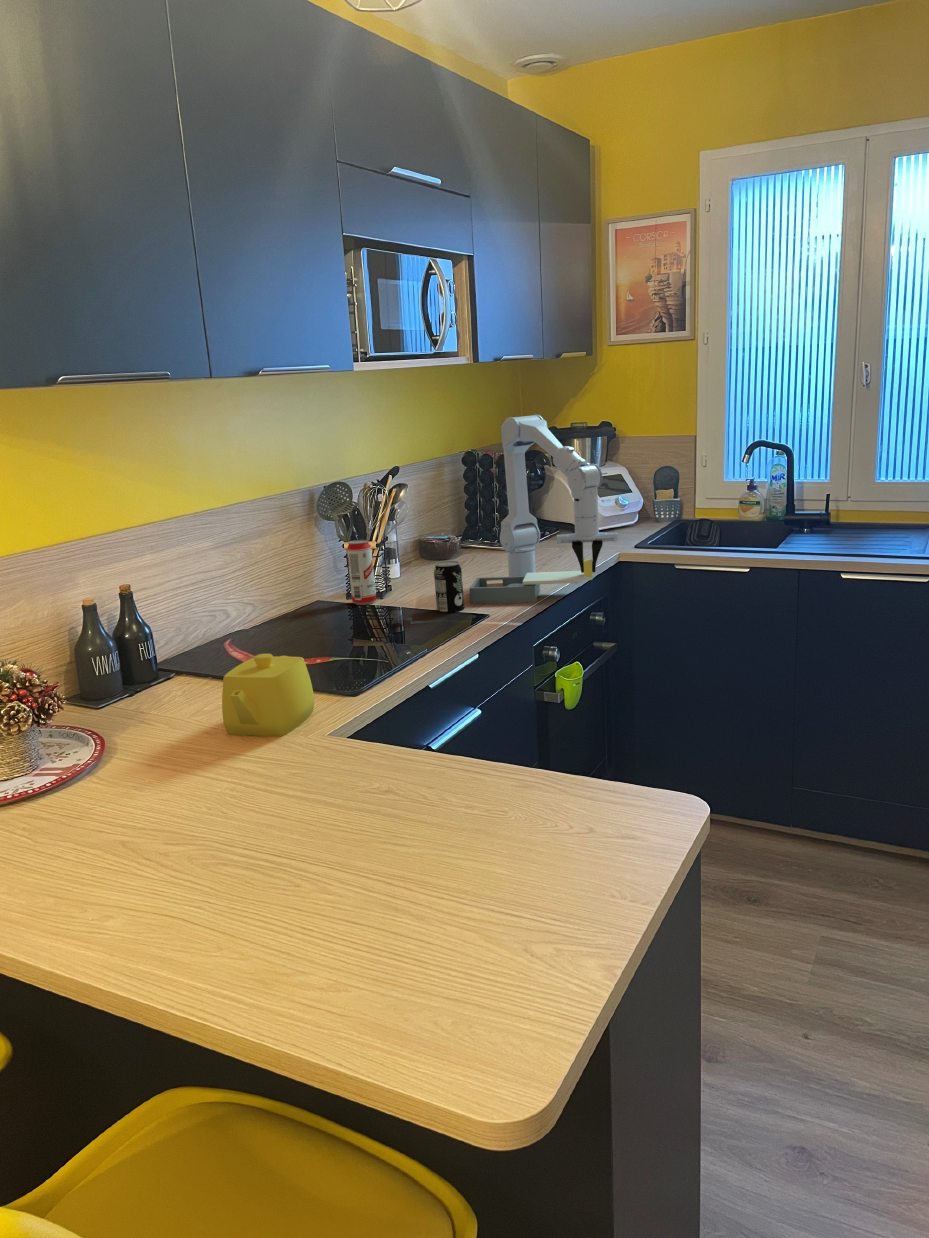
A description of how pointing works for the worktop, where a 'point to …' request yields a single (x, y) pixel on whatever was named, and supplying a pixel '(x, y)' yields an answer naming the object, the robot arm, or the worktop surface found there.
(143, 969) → the worktop surface
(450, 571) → the beverage can
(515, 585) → the brown cube
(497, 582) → the tan block
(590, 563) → the lid
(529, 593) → the tub
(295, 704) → the teapot
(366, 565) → the beer can
